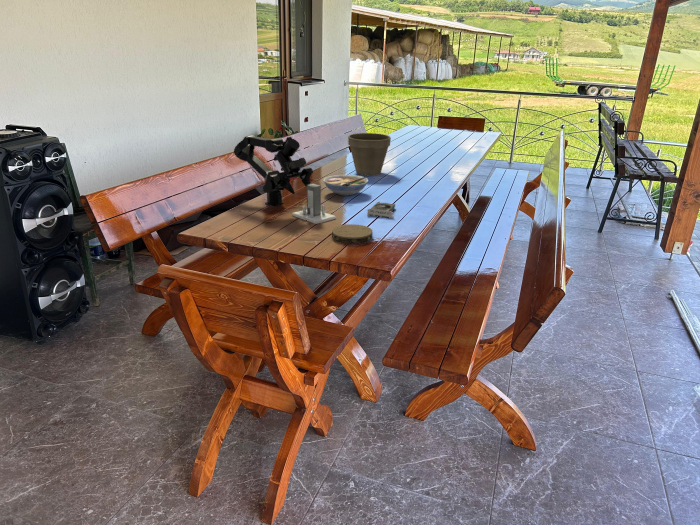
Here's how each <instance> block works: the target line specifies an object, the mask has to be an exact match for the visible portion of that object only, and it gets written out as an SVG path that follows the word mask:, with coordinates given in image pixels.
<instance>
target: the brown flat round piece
mask: <svg viewBox="0 0 700 525" xmlns="http://www.w3.org/2000/svg"><path fill="white" fill-rule="evenodd" d="M331 238H333V239H334V240H333V239H332V240H333V241H335V242H337V243H340V242H341V243H340V244H344V243H346V245H360V244H359V243H361V244H365V242H366V243H368V242H370V241H372V239H373V228H371V227H369V226H366V225H363V224H354V223H352V224H351V223H350V224H340V225H338V226H335V227H333V228H332V229H331Z"/></svg>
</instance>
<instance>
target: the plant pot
mask: <svg viewBox="0 0 700 525" xmlns="http://www.w3.org/2000/svg"><path fill="white" fill-rule="evenodd" d="M347 139H348V140H347V141H348V142H347V144H348V146H349V148H350V153H351V156H352V160H353V165H354V168H355V172H356V174H357V173H358V174H357V175H360V174H361V175H360V176H367V175H372V176H377V175H380V174H381V172H382V170H383V167H384V163H385V160H386V157H387V153H388V149H389V147H390V146H391V140H392V139H391V136H390V135H388V134H383V133H377V132H373V133H372V132H359V133H357V132H356V133H352V134H349V135H348V137H347Z"/></svg>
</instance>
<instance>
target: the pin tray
mask: <svg viewBox="0 0 700 525" xmlns="http://www.w3.org/2000/svg"><path fill="white" fill-rule="evenodd" d="M292 216H293V217H296V218H298V219H301V220H304V221H306V220H307V222H309V223H312V224H315V225H317V224H318V225H319V224H322V223H326V222H328V221H332V220H335V219H336V215H333V214H330V213H327V212H326V206H325V204H321V215H319V216H315V217H314V216H313V208H310V215H308V214H307V205H302V210H300V211H295V212H292Z"/></svg>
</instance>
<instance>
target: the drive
mask: <svg viewBox="0 0 700 525" xmlns="http://www.w3.org/2000/svg"><path fill="white" fill-rule="evenodd" d="M321 192H322V190H321V185H320V184H316V183H310V184H309V185H307V187H306V210H307V214H308V215H310V208H313V216H314V217H315V216H319V215H321V212H322V203H321V202H322V201H321V200H322V197H321V196H322V194H321Z"/></svg>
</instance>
